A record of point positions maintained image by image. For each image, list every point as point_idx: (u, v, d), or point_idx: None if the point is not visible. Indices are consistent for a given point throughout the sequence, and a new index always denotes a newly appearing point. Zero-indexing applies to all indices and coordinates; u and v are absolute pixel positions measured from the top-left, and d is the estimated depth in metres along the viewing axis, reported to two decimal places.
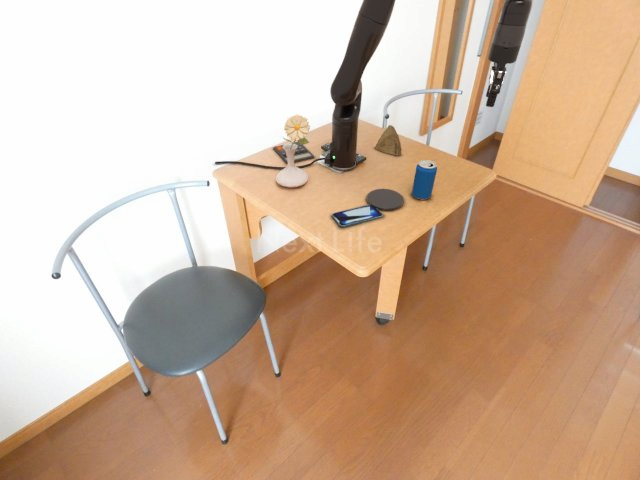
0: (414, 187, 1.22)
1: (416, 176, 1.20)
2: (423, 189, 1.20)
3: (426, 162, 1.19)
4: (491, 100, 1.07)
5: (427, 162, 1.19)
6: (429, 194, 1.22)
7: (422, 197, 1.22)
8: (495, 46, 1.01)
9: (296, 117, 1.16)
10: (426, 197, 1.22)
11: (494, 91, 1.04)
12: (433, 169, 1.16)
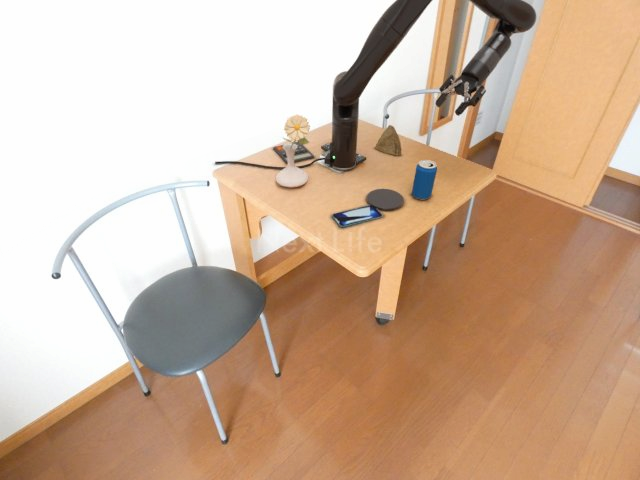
0: (414, 187, 1.22)
1: (416, 176, 1.20)
2: (423, 189, 1.20)
3: (426, 162, 1.19)
4: (463, 109, 1.15)
5: (427, 162, 1.19)
6: (429, 194, 1.22)
7: (422, 197, 1.22)
8: (483, 64, 1.13)
9: (296, 117, 1.16)
10: (426, 197, 1.22)
11: (474, 102, 1.14)
12: (433, 169, 1.16)
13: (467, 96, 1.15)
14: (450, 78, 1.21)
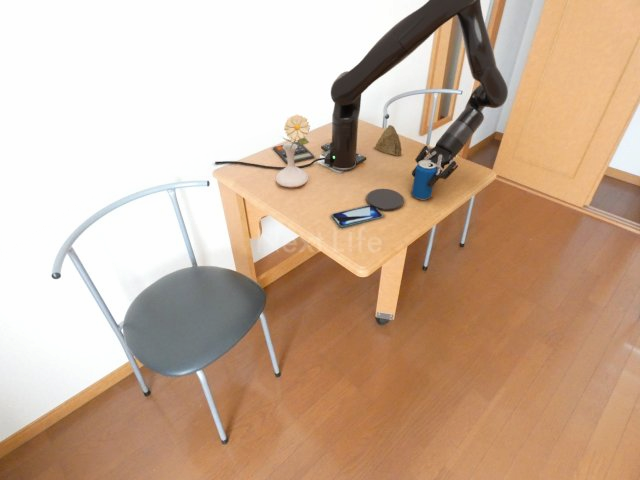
0: (414, 187, 1.22)
1: (416, 176, 1.20)
2: (423, 189, 1.20)
3: (426, 162, 1.19)
4: (434, 181, 1.17)
5: (427, 162, 1.19)
6: (429, 194, 1.22)
7: (422, 197, 1.22)
8: (456, 139, 1.14)
9: (296, 117, 1.16)
10: (426, 197, 1.22)
11: (444, 176, 1.16)
12: (433, 169, 1.16)
13: (439, 169, 1.17)
14: (424, 149, 1.22)
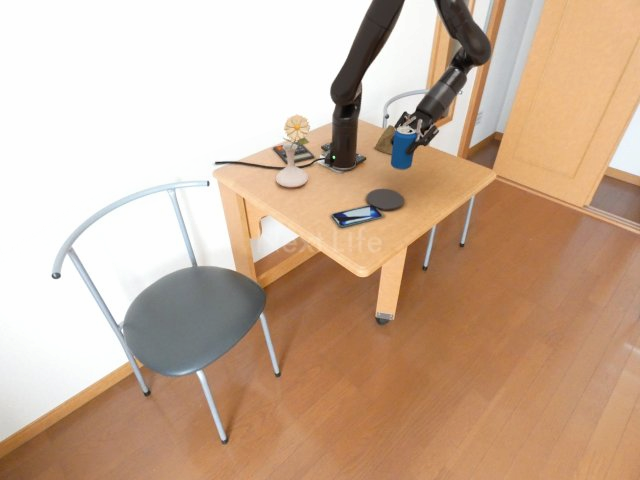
0: (393, 156, 1.13)
1: (394, 143, 1.10)
2: (402, 158, 1.11)
3: (405, 128, 1.10)
4: (413, 149, 1.08)
5: (406, 128, 1.10)
6: (409, 164, 1.13)
7: (401, 167, 1.13)
8: (436, 101, 1.05)
9: (296, 117, 1.16)
10: (406, 167, 1.13)
11: (424, 142, 1.06)
12: (412, 135, 1.07)
13: (418, 135, 1.07)
14: (404, 115, 1.13)
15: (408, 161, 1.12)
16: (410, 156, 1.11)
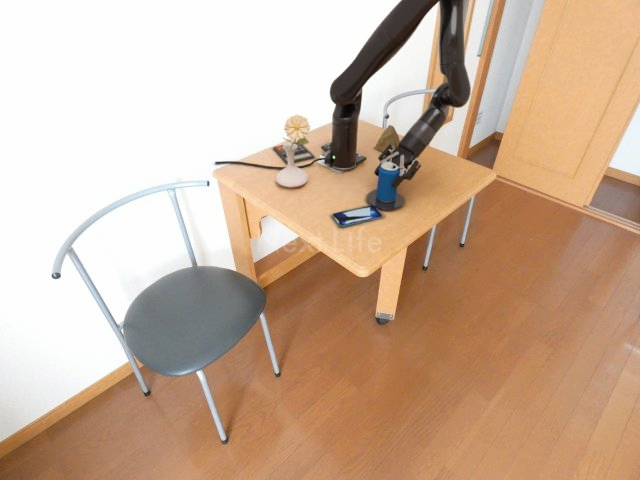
0: (378, 189, 1.19)
1: (379, 178, 1.17)
2: (386, 191, 1.17)
3: (389, 164, 1.16)
4: (399, 183, 1.14)
5: (390, 164, 1.16)
6: (393, 196, 1.19)
7: (386, 200, 1.19)
8: (417, 139, 1.11)
9: (296, 117, 1.16)
10: (390, 200, 1.19)
11: (409, 177, 1.12)
12: (395, 171, 1.13)
13: (402, 170, 1.13)
14: (388, 148, 1.19)
15: (392, 194, 1.18)
16: (394, 190, 1.18)
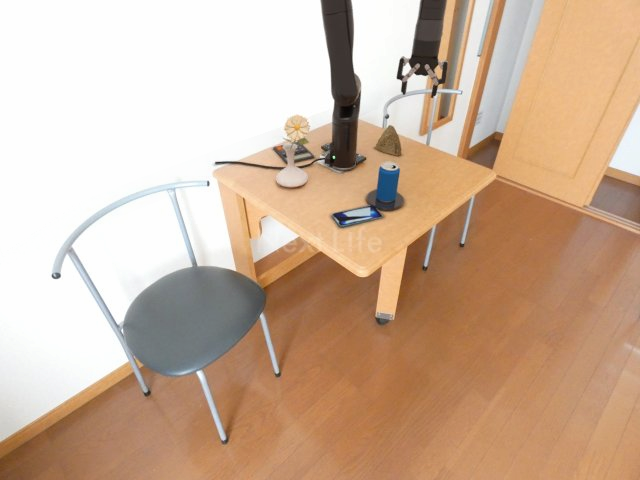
0: (378, 189, 1.19)
1: (379, 178, 1.17)
2: (386, 191, 1.17)
3: (389, 164, 1.16)
4: None
5: (390, 164, 1.16)
6: (393, 196, 1.19)
7: (386, 200, 1.19)
8: (435, 42, 1.01)
9: (296, 117, 1.16)
10: (390, 200, 1.19)
11: (445, 80, 1.09)
12: (395, 171, 1.13)
13: (435, 78, 1.08)
14: (402, 63, 1.09)
15: (392, 194, 1.18)
16: (394, 190, 1.18)
